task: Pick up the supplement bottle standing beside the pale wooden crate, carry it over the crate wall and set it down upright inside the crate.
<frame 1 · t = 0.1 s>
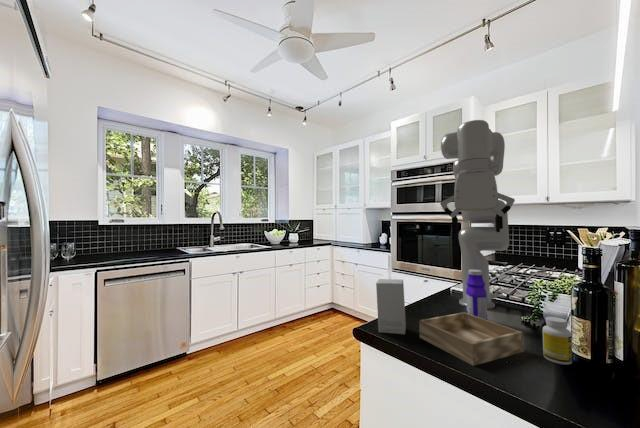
hand: (476, 231, 74), 31 cm above the counter, tool pointing down, fingers open, 9 cm apart
skincare box: (391, 330, 88), on the counter
bottle: (477, 322, 94), on the counter
crate: (468, 344, 77), on the counter
supplement bottle: (557, 360, 68), on the counter
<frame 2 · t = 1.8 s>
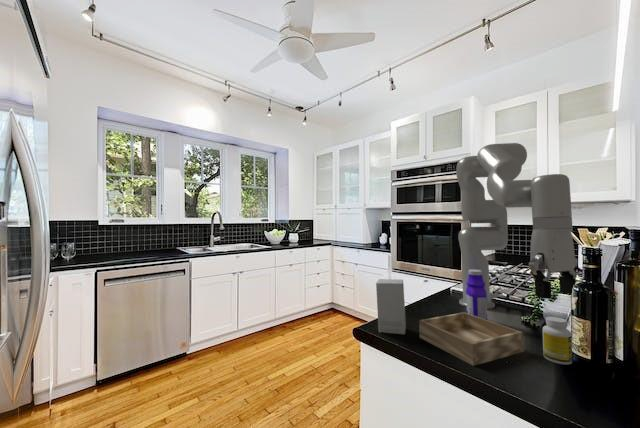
hand: (556, 295, 68), 16 cm above the counter, tool pointing down, fingers open, 9 cm apart
nothing on the counter moved.
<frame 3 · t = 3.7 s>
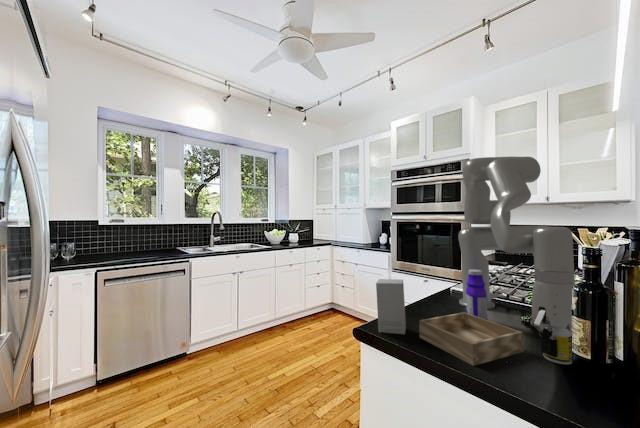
hand: (557, 351, 68), 2 cm above the counter, tool pointing down, fingers closed on supplement bottle, 5 cm apart
supplement bottle: (557, 360, 68), on the counter, touching gripper
everything else where it was.
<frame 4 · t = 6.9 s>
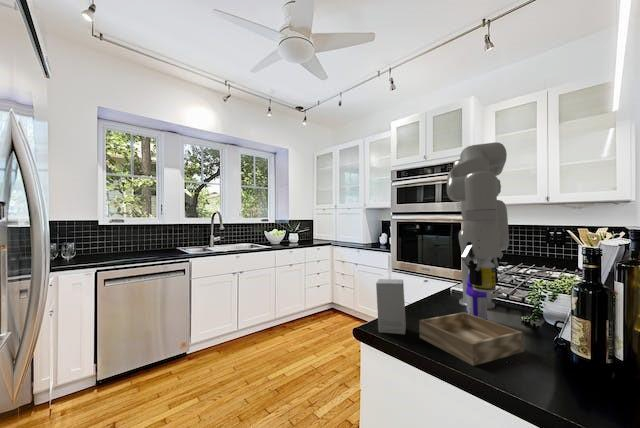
hand: (483, 282, 76), 17 cm above the counter, tool pointing down, fingers closed on supplement bottle, 5 cm apart
supplement bottle: (484, 291, 76), point 15 cm above the counter, touching gripper
everything else where it was.
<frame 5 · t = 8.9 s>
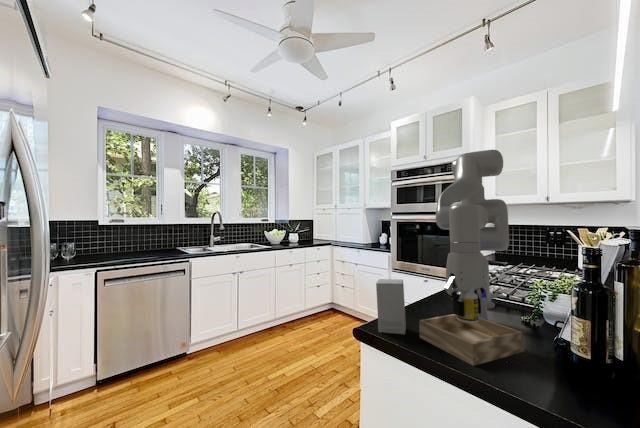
hand: (467, 313, 77), 9 cm above the counter, tool pointing down, fingers closed on supplement bottle, 5 cm apart
supplement bottle: (467, 321, 77), point 6 cm above the counter, touching gripper
everything else where it was.
when the fingers open (5 cm above the counter, at t = 10.5 s): supplement bottle drops 2 cm, resting on crate.
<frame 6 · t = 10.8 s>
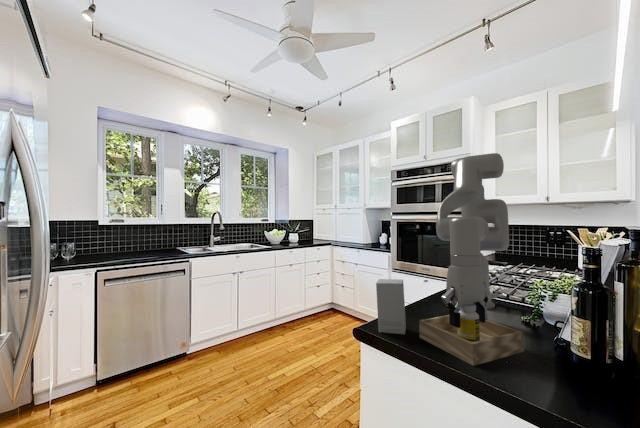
hand: (467, 323, 77), 6 cm above the counter, tool pointing down, fingers open, 8 cm apart
supplement bottle: (468, 340, 77), point 1 cm above the counter, touching crate
everything else where it was.
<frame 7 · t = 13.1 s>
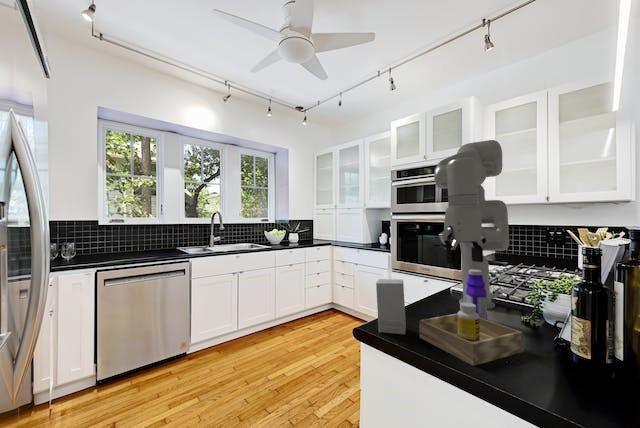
hand: (465, 262, 79), 22 cm above the counter, tool pointing down, fingers open, 9 cm apart
nothing on the counter moved.
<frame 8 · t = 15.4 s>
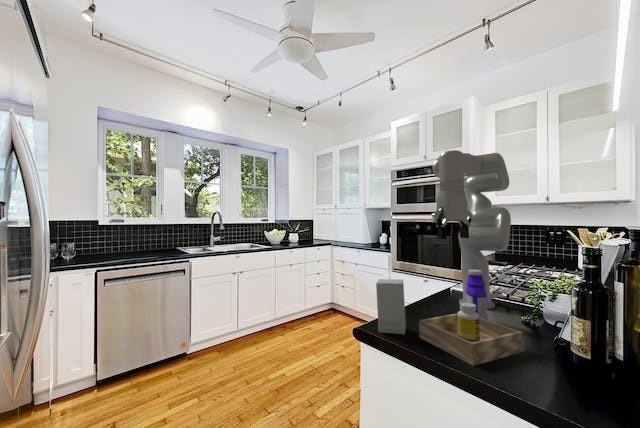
hand: (453, 238, 94), 28 cm above the counter, tool pointing down, fingers open, 9 cm apart
nothing on the counter moved.
at the end: supplement bottle inside the target area on the crate (0.4 cm from its centre), point 0.8 cm above the crate's base; supplement bottle tilted 0°; the gripper is holding nothing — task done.
